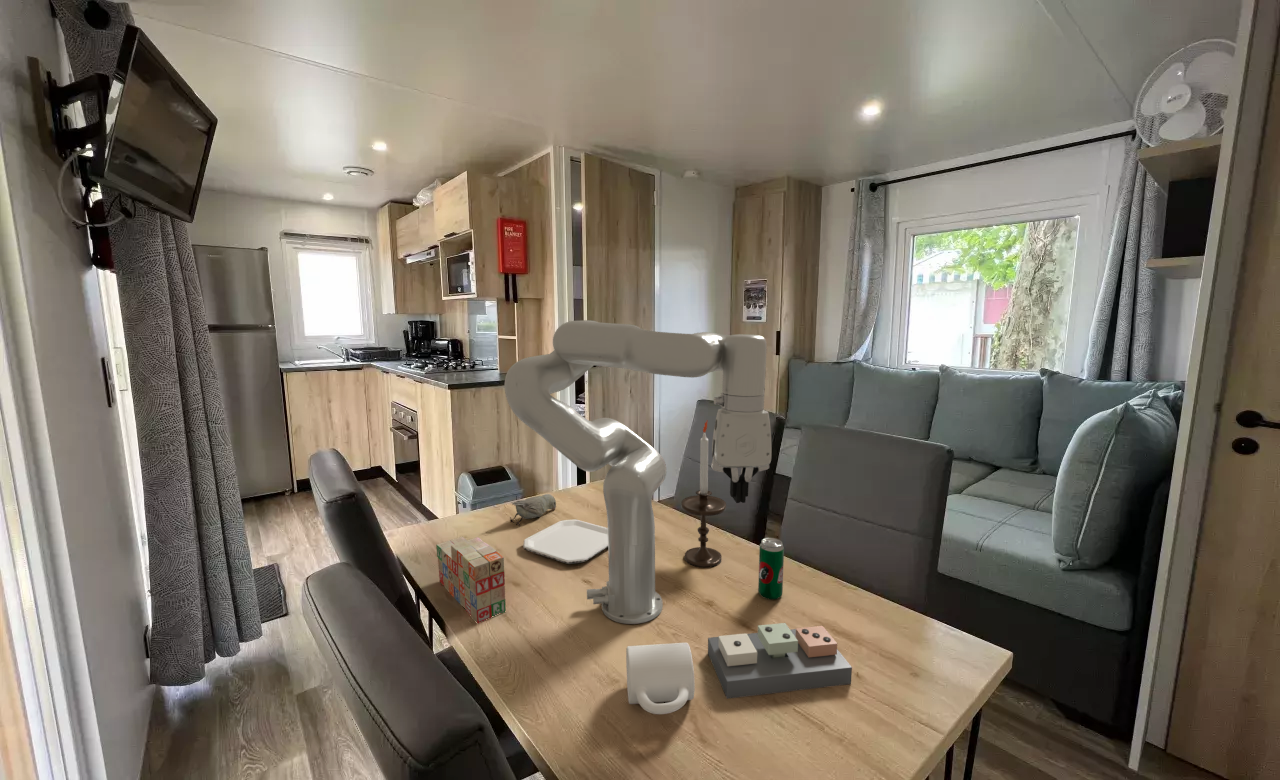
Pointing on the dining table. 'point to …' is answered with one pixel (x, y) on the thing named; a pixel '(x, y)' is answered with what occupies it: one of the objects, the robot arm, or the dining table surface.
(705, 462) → the candlestick
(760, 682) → the button panel
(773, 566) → the soda can
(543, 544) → the plate
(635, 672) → the mug
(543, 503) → the decorative bird
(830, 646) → the button three
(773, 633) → the button two
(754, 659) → the button one
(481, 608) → the stack of blocks
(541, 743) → the dining table surface
